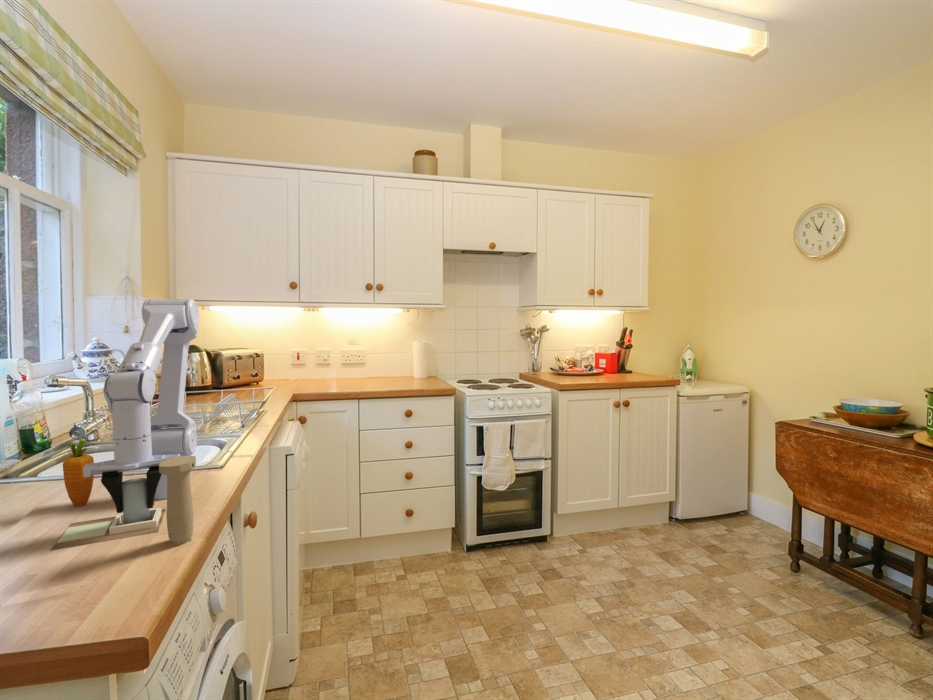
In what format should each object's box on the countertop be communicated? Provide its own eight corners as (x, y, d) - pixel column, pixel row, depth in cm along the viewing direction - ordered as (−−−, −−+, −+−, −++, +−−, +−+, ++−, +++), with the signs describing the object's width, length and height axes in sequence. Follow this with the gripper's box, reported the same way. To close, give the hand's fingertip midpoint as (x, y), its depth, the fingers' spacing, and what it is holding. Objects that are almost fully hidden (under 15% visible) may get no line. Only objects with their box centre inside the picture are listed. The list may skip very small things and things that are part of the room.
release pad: (68, 528, 87) (68, 527, 87) (112, 521, 90) (112, 520, 90) (57, 543, 81) (57, 542, 81) (104, 535, 84) (104, 534, 84)
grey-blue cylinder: (125, 521, 89) (123, 479, 89) (151, 517, 91) (149, 476, 91) (121, 530, 86) (119, 486, 85) (148, 525, 88) (146, 482, 87)
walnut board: (71, 529, 89) (71, 523, 89) (166, 514, 96) (165, 508, 96) (50, 557, 78) (49, 550, 78) (158, 538, 85) (158, 531, 85)
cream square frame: (117, 520, 90) (117, 514, 90) (161, 513, 93) (161, 507, 93) (109, 534, 84) (109, 528, 84) (156, 527, 87) (156, 520, 87)
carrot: (63, 510, 98) (59, 438, 98) (93, 503, 102) (90, 434, 101) (67, 517, 95) (63, 442, 94) (98, 509, 99) (94, 438, 98)
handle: (204, 538, 85) (201, 455, 84) (187, 555, 79) (183, 466, 78) (176, 539, 84) (172, 456, 84) (156, 557, 78) (152, 467, 77)
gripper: (76, 446, 81) (81, 524, 82) (176, 436, 87) (179, 509, 88) (87, 437, 87) (91, 510, 88) (179, 428, 94) (182, 496, 94)
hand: (136, 508), depth 88 cm, fingers open, 4 cm apart
